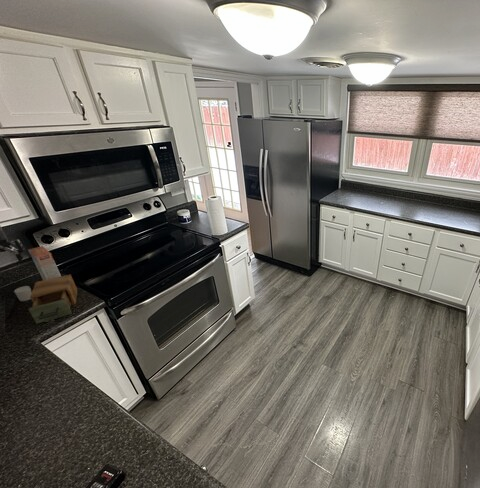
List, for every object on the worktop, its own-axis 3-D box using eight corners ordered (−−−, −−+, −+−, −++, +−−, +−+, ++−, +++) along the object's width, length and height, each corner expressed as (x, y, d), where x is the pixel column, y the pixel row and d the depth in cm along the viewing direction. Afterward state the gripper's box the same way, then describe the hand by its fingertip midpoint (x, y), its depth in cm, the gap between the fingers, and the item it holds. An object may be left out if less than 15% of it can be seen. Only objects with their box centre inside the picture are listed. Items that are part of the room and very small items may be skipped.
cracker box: (67, 287, 139) (51, 252, 130) (52, 293, 135) (34, 257, 126) (59, 279, 146) (43, 245, 137) (44, 283, 142) (26, 249, 133)
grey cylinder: (18, 302, 127) (13, 293, 125) (20, 297, 131) (15, 288, 129) (33, 298, 130) (28, 289, 128) (35, 293, 134) (30, 284, 132)
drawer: (70, 319, 117) (63, 305, 114) (34, 330, 111) (26, 316, 107) (73, 298, 130) (67, 285, 127) (41, 307, 124) (34, 293, 120)
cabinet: (75, 304, 128) (67, 287, 124) (39, 314, 121) (29, 297, 117) (77, 289, 138) (70, 274, 134) (44, 298, 131) (35, 282, 127)
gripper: (14, 225, 122) (30, 255, 129) (-33, 231, 114) (-13, 264, 121) (10, 230, 116) (27, 262, 123) (-40, 237, 108) (-19, 271, 116)
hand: (7, 263), depth 122 cm, fingers open, 8 cm apart
